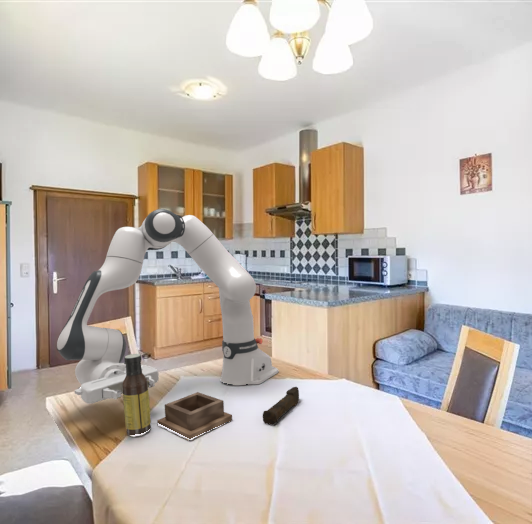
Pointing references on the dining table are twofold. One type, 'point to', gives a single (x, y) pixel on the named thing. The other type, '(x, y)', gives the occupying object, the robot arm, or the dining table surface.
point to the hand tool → (281, 406)
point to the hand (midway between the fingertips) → (136, 389)
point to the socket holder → (194, 415)
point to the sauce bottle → (136, 397)
